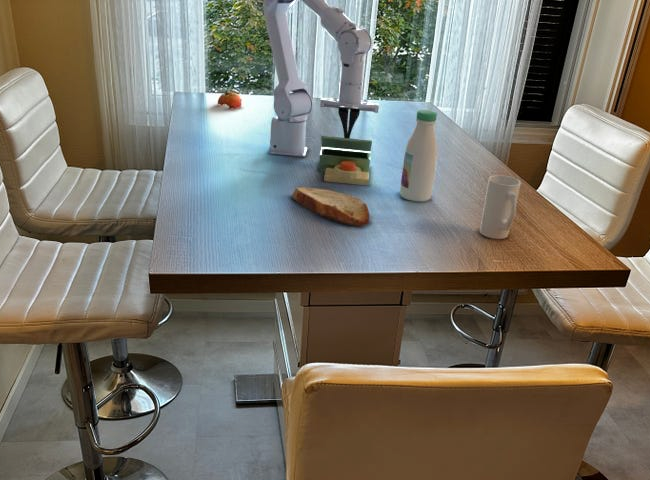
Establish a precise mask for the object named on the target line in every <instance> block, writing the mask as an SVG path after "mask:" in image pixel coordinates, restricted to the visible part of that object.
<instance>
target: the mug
mask: <svg viewBox="0 0 650 480" xmlns="http://www.w3.org/2000/svg"><path fill="white" fill-rule="evenodd" d="M521 184H522V182H521V180H519V179H518V178H516V177H514V176H509V175H503V174H494V175H490V176H488V181H487V186H486V192H485V198H484V202H483V208H482V214H481V220H480V226H479V234H481V236H484V237H486V238H489V239H493V240H503V239H506V238H508V236H509V233H510V230H511V227H512V225H513V222H514V220H515V217H516V212H517V205H518V204H517V203H518V196H519V194H520V188H521Z"/></svg>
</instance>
